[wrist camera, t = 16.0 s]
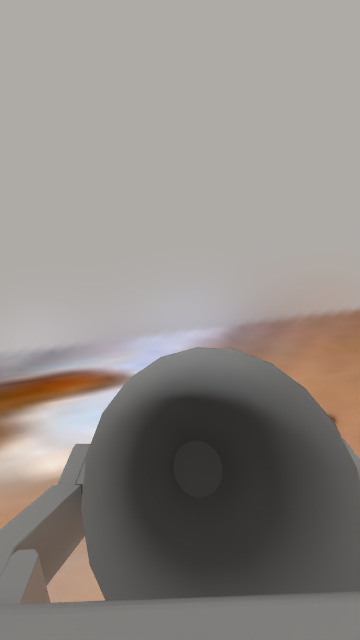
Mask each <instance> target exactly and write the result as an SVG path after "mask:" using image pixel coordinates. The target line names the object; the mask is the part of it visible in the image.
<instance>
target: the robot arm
mask: <svg viewBox="0 0 360 640" xmlns="http://www.w3.org/2000/svg"><path fill="white" fill-rule="evenodd" d="M342 439H343V438H342ZM343 441H344V443H345V445H346V447H347V449H348V451H349V453H350V455H351V457H352V459H353V461H354V463H355V465H356V467H357V470H358V474H359V479H360V459H359V458H358V457H357V455H356V454H355V453H354V451H353V450H352V449H351V448H350V446H349V445H348V444H347V442H346V441H345V440H344V439H343ZM90 445H91V444H76V445H75V446H74V447H73V449H72V452H71V454H70V456H69V459H68V461H67V464H66V466H65V468H64V471H63V473H62V475H61V478H60V480H59V483H58V485H57V486H52V487H50V488H49V489H48V490H47V491H46V492H44V493H43V494H42V495H41V496H40V497H38V498H37V499H36V500H35V501H34V502H33V503H31V504H30V505H29V506H28V507H27V508H25V509H24V510H23V511H22V512H21V513H19V514H18V515H17V516H16V517H15V518H14V519H12V520H11V521H10V522H9V523H8V524H6V525H5V526H4V527H3V528H2V529H0V640H360V591H353V592H326V593H300V594H274V595H247V596H221V597H194V598H166V599H139V600H112V601H85V602H58V603H50V599H49V595H48V591H47V587H46V586H47V584H48V583H49V582H50V581H51V579H52V578H53V577H54V575H55V574H56V573H57V571H58V570H59V569H60V567H61V566H62V565H63V564H64V562H65V561H66V560H67V558H68V557H69V556H70V554H71V553H72V552H73V551H74V549H75V548H76V547H77V545H78V544H79V543H80V541H81V540H82V539H83V538H84V536H85V532H84V525H83V519H82V513H81V502H82V492H83V481H84V471H85V461H86V455H87V453H88V450H89V447H90Z"/></svg>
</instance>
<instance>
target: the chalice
mask: <svg viewBox="0 0 360 640" xmlns="http://www.w3.org/2000/svg"><path fill="white" fill-rule="evenodd" d="M81 513H82V519H83V525H84V532H85V538H86V544H87V550H88V557H89V563H90V566H91V569H92V571H93V573H94V575H95V578H96V580H97V582H98V584H99V587H100V589H101V591H102V593H103V596H104V598H105V600H106V601H112V600H139V599H166V598H194V597H221V596H247V595H274V594H300V593H326V592H353V591H360V479H359V474H358V470H357V467H356V465H355V463H354V461H353V459H352V457H351V455H350V453H349V451H348V449H347V447H346V445H345V443H344V441H343V439H342V437H341V435H340V433H339V431H338V429H337V427H336V425H335V423H334V422H333V421H332V420H331V419H330V417H329V416H328V415H327V414H326V413H325V411H324V410H323V409H322V408H321V407H320V405H319V404H318V403H317V402H316V401H315V399H314V398H313V397H312V396H311V395H310V393H309V392H308V391H307V390H306V389H305V388H304V387H303V386H301V385H300V384H299V383H297V382H296V381H295V380H293V379H292V378H290V377H289V376H288V375H286V374H285V373H284V372H282V371H281V370H279V369H278V368H277V367H275V366H274V365H273V364H271V363H269V362H266V361H263V360H261V359H258V358H255V357H253V356H250V355H247V354H245V353H242V352H240V351H237V350H232V349H216V348H200V347H197V348H193V349H189V350H186V351H182V352H178V353H174V354H171V355H167V356H163V357H160V358H159V359H158V360H156V361H155V362H153V363H152V364H150V365H149V366H147V367H146V368H144V369H143V370H141V371H140V372H138V373H137V374H135V375H134V376H133V377H131V378H130V379H128V381H127V382H126V383H125V385H124V386H123V387H122V388H121V390H120V391H119V392H118V394H117V395H116V396H115V397H114V399H113V400H112V401H111V403H110V404H109V405H108V407H107V408H106V409H105V410H104V412H103V413H102V416H101V419H100V421H99V424H98V426H97V429H96V432H95V434H94V437H93V440H92V442H91V445H90V447H89V450H88V453H87V455H86V461H85V471H84V481H83V492H82V502H81Z"/></svg>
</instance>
